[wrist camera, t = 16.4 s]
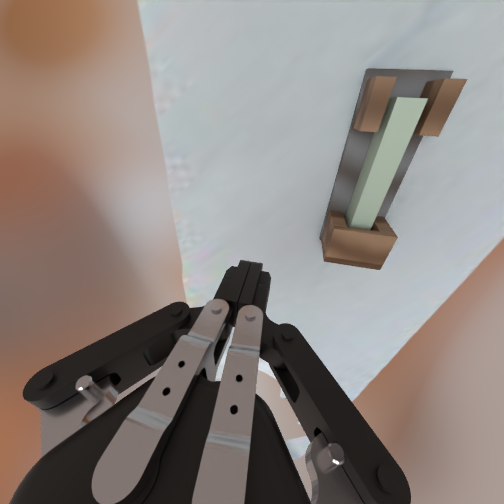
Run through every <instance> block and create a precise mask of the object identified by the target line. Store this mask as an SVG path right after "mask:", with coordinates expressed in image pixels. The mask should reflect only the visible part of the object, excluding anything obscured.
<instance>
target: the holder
mask: <svg viewBox="0 0 504 504" xmlns="http://www.w3.org/2000/svg"><path fill="white" fill-rule="evenodd" d="M452 73H453V71H437V70H401V69H366V72H365V75H364V79H363V83H362V86H361V90H360V93H359V97H358V101H357V104H356V108H355V111H354V115H353V119H352V122H351V126H350V130H349V133H348V137H347V140H346V144H345V148H344V151H343V155H342V158H341V162H340V166H339V169H338V173H337V176H336V180H335V184H334V187H333V191H332V194H331V198H330V202H329V205H328V209H327V212H326V216H325V220H324V223H323V227H322V230H321V234H320V240H321V242H322V250H323V258H324V261H325V262H331V263H338V264H344V265H351V266H357V267H364V268H370V269H376V270H380V269H381V267H382V265H383V264H384V262H385V260H386V258H387V256H388V254H389V252H390V251H391V249H392V247H393V245H394V243H395V241H396V240H397V238H398V237H397V236H396V234H395V233H394V231H393V230H392V228H391V227H390V226H389V224H388V223H387V221H386V220H385V216H386V214H387V212H388V210H389V208H390V205H391V203H392V201H393V199H394V197H395V195H396V193H397V190H398V188H399V186H400V184H401V182H402V180H403V178H404V175H405V173H406V171H407V169H408V167H409V165H410V163H411V161H412V158H413V156H414V154H415V152H416V150H417V148H418V146H419V143H420V141H421V139H422V137H423V135H424V136H439V134H440V132H441V130H442V128H443V126H444V124H445V122H446V120H447V118H448V116H449V114H450V112H451V111H452V109H453V107H454V105H455V103H456V101H457V99H458V97H459V95H460V93H461V91H462V89H463V87H464V85H465V83H466V81H467V79H450V77H451V75H452ZM393 97H404V98H427V99H428V100H427V102H426V105H425V107H424V109H423V111H422V114H421V116H420V118H419V121H418V123H417V125H416V127H415V130H414V132H413V134H412V136H411V139H410V141H409V143H408V146H407V148H406V150H405V152H404V155H403V157H402V159H401V162H400V164H399V166H398V168H397V171H396V173H395V175H394V177H393V180H392V182H391V184H390V187H389V189H388V191H387V193H386V196H385V198H384V200H383V203H382V205H381V207H380V209H379V212H378V214H377V216H376V218H375V221H374V223H373V225H372V228H371V230H363V229H355V228H348V227H347V225H346V222H345V217H346V214H347V211H348V208H349V205H350V202H351V199H352V196H353V193H354V190H355V187H356V184H357V181H358V178H359V176H360V173H361V170H362V167H363V164H364V161H365V158H366V155H367V152H368V149H369V146H370V143H371V140H372V137H373V135H374V132H378V129H379V127H380V124H381V121H382V118H383V115H384V112H385V109H386V107H387V104H388V101H389V98H393Z"/></svg>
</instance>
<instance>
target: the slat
mask: <svg viewBox="0 0 504 504" xmlns="http://www.w3.org/2000/svg"><path fill="white" fill-rule="evenodd" d="M427 100H428V99H427V98H404V97H393V98H389V101H388V104H387V107H386V109H385V112H384V115H383V118H382V121H381V124H380V127H379V129H378V132H374V135H373V137H372V140H371V143H370V146H369V149H368V152H367V155H366V158H365V161H364V164H363V167H362V170H361V173H360V176H359V178H358V181H357V184H356V187H355V190H354V193H353V196H352V199H351V202H350V205H349V208H348V211H347V214H346V217H345V222H346V225H347V227H348V228H355V229H363V230H371V228H372V225H373V223H374V221H375V218H376V216H377V214H378V212H379V209H380V207H381V205H382V203H383V200H384V198H385V196H386V193H387V191H388V189H389V187H390V184H391V182H392V180H393V177H394V175H395V173H396V171H397V168H398V166H399V164H400V162H401V159H402V157H403V155H404V152H405V150H406V148H407V146H408V143H409V141H410V139H411V136H412V134H413V132H414V130H415V127H416V125H417V123H418V121H419V118H420V116H421V114H422V111H423V109H424V107H425V105H426V102H427Z"/></svg>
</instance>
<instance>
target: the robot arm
mask: <svg viewBox="0 0 504 504" xmlns="http://www.w3.org/2000/svg"><path fill="white" fill-rule="evenodd" d="M262 267H263V263H256V262H250V261H244V260H240V262H239V265H238V267H234V266H231V267H230V268H229V269H228V270H227V271H226V273H225V275H224V277H223V279H222V282H221V284H220V286H219V288H218V290H217V292H216V294H215V297H214V299H213V300H211V301H209V302H208V303H207V304H206V305H205V306H203V307H196V308H189V306H188V305H187V304H186V303H184V302H175V303H172V304H170V305H168V306H166V307H164V308H162V309H160V310H158V311H156V312H154V313H152V314H150V315H148V316H146V317H144V318H142V319H140V320H138V321H137V322H134V323H132V324H131V325H128V326H126V327H124V328H122V329H120V330H118V331H116V332H115V333H112V334H111V335H109V336H107V337H105V338H103V339H101V340H99V341H97V342H95V343H93V344H91V345H89V346H87V347H85V348H83V349H81V350H79V351H77V352H75V353H73V354H71V355H69V356H67V357H65V358H63V359H61V360H59V361H57V362H55V363H53V364H51V365H49V366H47V367H45V368H43V369H42V370H40V371H39V372H37V373H36V374H35V375H34V376H33V377H32V378H31V379H30V380H29V381H28V382H27V384H26V386H25V388H24V390H23V397H24V399H25V400H27V401H28V402H30V403H31V404H33V405H35V407H36V408H37V409H39V410H40V414H41V442H42V458H41V459H40V460H39V461H38V462H37V463H36V464H35V465H34V466H33V467H32V469H31V470H30V471H29V472H28V473H27V475H26V476H25V478H24V479H23V480H22V482H21V483H20V485H19V486H18V488H17V490H16V491H15V493H14V495H13V497H12V499H11V501H10V503H9V504H410V503H411V493H410V488H409V485H408V481H407V479H406V477H405V475H404V473H403V471H402V470H401V468H400V467H399V465H398V464H397V463H396V461H395V460H394V458H393V457H392V456H391V454H390V453H389V452H388V450H387V449H386V448H385V446H384V445H383V444H382V442H381V441H380V440H379V438H378V437H377V436H376V434H375V433H374V431H373V430H372V429H371V427H370V426H369V425H368V423H367V422H366V421H365V419H364V418H363V417H362V415H361V414H360V413H359V411H358V410H357V409H356V407H355V406H354V404H353V403H352V402H351V400H350V399H349V398H348V396H347V395H346V394H345V392H344V391H343V390H342V388H341V387H340V386H339V384H338V383H337V381H336V380H335V379H334V377H333V376H332V375H331V373H330V372H329V371H328V369H327V368H326V367H325V365H324V364H323V363H322V361H321V360H320V359H319V357H318V356H317V354H316V353H315V352H314V350H313V349H312V348H311V346H310V345H309V344H308V342H307V341H306V340H305V338H304V337H303V336H302V334H301V333H300V332H299V330H298V329H297V328H296V327H295V326H293V325H291V324H287V323H283V324H280V325H278V324H276V323H274V322H272V321H271V320H270V319H269V318H268V317H267V315H266V313H265V312H266V307H267V302H268V296H269V290H270V282H271V277H270V274H269V272H264V271H262ZM232 327H235V329H234V334H233V338H232V343H231V346H230V347H229V349H228V353H227V357H226V361H225V365H224V370H223V374H222V378H221V381H215V378H216V373H217V369H218V366H219V364H220V361H221V359H222V356H223V354H224V351H225V349H226V346H227V344H228V341H229V339H230V334H231V330H232ZM259 357H260V358H262V359H263V360H265V361H266V362H268V363H269V365H270V368H271V370H272V371H273V373H274V375H275V377H276V379H277V381H278V382H279V384H280V386H281V388H282V390H283V392H284V394H285V396H286V397H287V399H288V401H289V403H290V405H291V407H292V409H293V410H294V412H295V414H296V416H297V418H298V420H299V422H300V424H301V425H302V427H303V429H304V431H305V433H306V435H307V437H308V438H309V440H310V442H311V443H310V445H309V446H308V448H307V450H306V456H305V461H306V467H307V470H308V473H309V476H310V479H311V483H312V498H311V502H310V499H309V497H308V495H307V492H306V490H305V488H304V485H303V483H302V481H301V479H300V476H299V474H298V471H297V469H296V467H295V464H294V463H293V460H292V457H291V455H290V453H289V450H288V448H287V446H286V443H285V441H284V439H283V436H282V434H281V432H280V429H279V427H278V425H277V422H276V421H275V418H274V416H273V413H272V412H271V410H270V408H269V406H268V405H267V404H266V402H265V401H264V400H263V399H262V398H261V397H259V396H258V395H257V394H256V393H255V392H256V382H257V372H258V362H259ZM161 366H162V368H161V369H160V371H159V373H158V374H157V376H156V377H154V378H152V379H150V380H148V381H147V382H145V383H144V384H143V385H141V386H140V387H138V388H137V389H136V390H134V391H133V392H131V393H130V394H129V395H127V396H126V397H124V398H123V399H121V400H120V401H119V402H117V403H116V404H115V402H116V399H117V397H118V395H119V394H120V393H122V392H123V391H125V390H126V389H128V388H129V387H131V386H132V385H134V384H135V383H137V382H138V381H140V380H141V379H143V378H144V377H146V376H148V375H149V374H151V373H152V372H153V371H155V370H157V369H158V368H160V367H161Z"/></svg>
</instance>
